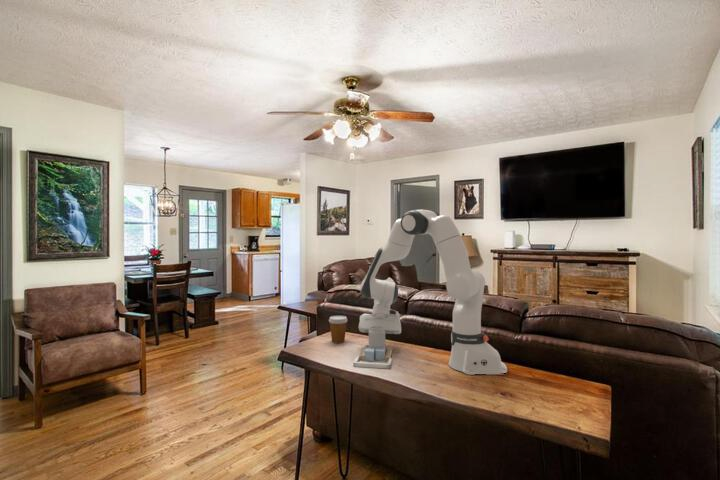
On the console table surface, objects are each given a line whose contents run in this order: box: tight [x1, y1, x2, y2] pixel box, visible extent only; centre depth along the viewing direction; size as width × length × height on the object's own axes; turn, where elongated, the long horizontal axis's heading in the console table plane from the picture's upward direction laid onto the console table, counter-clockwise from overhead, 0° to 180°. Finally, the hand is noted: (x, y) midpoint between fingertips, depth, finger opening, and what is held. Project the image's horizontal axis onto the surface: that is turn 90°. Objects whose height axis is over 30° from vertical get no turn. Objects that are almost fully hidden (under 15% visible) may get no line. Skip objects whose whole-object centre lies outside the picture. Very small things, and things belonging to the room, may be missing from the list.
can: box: [368, 326, 386, 357], centre depth 162 cm, size 8×8×12 cm
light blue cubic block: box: [364, 348, 376, 362], centre depth 156 cm, size 4×4×4 cm
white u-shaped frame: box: [352, 355, 393, 370], centre depth 149 cm, size 15×8×2 cm, turn 79°
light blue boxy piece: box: [375, 347, 386, 361], centre depth 156 cm, size 4×4×4 cm
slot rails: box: [358, 344, 394, 363], centre depth 161 cm, size 13×16×2 cm
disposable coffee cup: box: [328, 315, 348, 344], centre depth 181 cm, size 10×10×12 cm
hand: (378, 340), depth 166 cm, fingers closed, pressing on can
